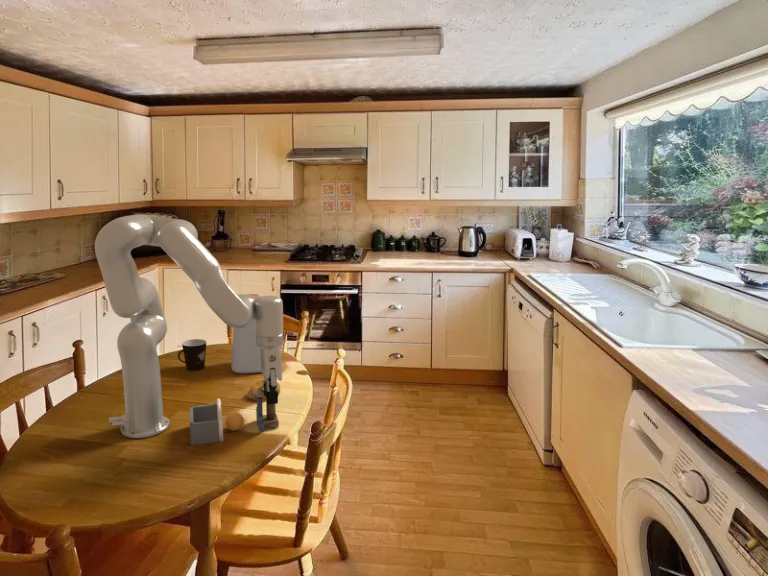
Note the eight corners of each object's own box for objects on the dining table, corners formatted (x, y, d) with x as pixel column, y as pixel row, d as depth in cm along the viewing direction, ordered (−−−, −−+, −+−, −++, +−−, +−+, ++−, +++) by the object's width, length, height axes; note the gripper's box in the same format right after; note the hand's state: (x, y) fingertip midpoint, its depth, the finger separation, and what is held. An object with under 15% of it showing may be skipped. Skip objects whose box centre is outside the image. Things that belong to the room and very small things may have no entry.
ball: (226, 434, 146) (225, 418, 145) (225, 426, 151) (224, 410, 149) (244, 432, 148) (244, 416, 147) (243, 424, 152) (242, 408, 151)
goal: (190, 445, 140) (189, 419, 138) (191, 425, 151) (189, 401, 149) (223, 441, 142) (222, 415, 141) (221, 422, 153) (220, 398, 152)
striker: (256, 432, 147) (255, 393, 145) (253, 419, 155) (252, 382, 152) (279, 429, 149) (279, 390, 147) (275, 416, 157) (274, 379, 154)
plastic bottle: (273, 373, 193) (272, 299, 187) (230, 375, 190) (228, 300, 184) (273, 359, 207) (271, 290, 202) (233, 361, 204) (231, 291, 198)
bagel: (243, 393, 174) (242, 380, 173) (274, 387, 180) (274, 374, 179) (252, 405, 166) (252, 391, 165) (285, 398, 172) (285, 385, 171)
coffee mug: (202, 362, 202) (201, 337, 200) (211, 368, 195) (210, 343, 193) (171, 368, 194) (170, 343, 192) (179, 375, 188) (178, 349, 186)
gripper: (288, 347, 141) (288, 410, 144) (278, 330, 156) (279, 387, 160) (259, 350, 138) (261, 413, 142) (253, 332, 154) (254, 389, 157)
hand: (270, 399), depth 151 cm, fingers open, 5 cm apart
